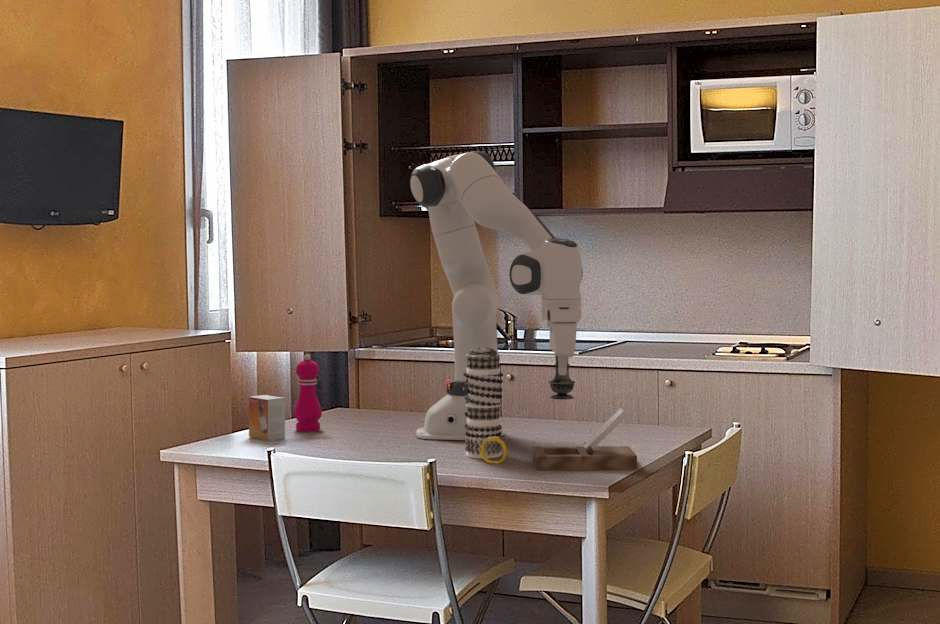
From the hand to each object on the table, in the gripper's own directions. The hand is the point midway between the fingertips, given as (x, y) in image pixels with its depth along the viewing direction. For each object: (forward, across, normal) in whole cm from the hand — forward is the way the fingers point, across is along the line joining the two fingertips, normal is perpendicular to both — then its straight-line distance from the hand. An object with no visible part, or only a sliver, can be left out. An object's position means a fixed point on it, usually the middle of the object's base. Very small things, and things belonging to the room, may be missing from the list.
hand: (561, 373), depth 268 cm
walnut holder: (+20, 0, +5) cm, 21 cm away
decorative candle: (+21, -12, -17) cm, 29 cm away
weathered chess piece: (+6, 0, 0) cm, 6 cm away
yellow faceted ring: (+21, -3, -15) cm, 26 cm away
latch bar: (+13, 0, +10) cm, 17 cm away
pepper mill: (+21, -49, -62) cm, 82 cm away
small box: (+21, -37, -71) cm, 83 cm away
